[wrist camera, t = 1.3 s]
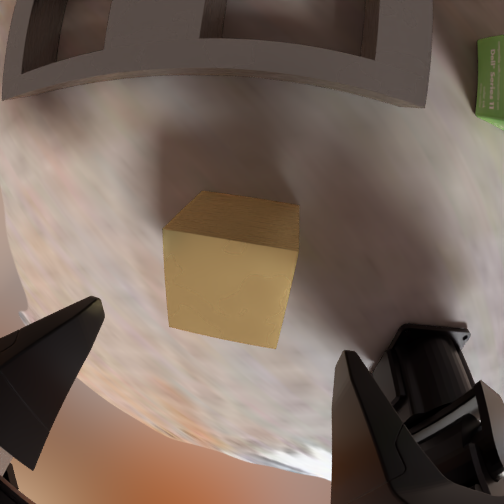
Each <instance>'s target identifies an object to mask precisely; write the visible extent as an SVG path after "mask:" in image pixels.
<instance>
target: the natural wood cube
mask: <svg viewBox="0 0 504 504" xmlns="http://www.w3.org/2000/svg"><path fill="white" fill-rule="evenodd" d="M162 230H163V254H164V272H165V286H166V299H167V310H168V320H169V327H172V328H176V329H180V330H184V331H189V332H193V333H197V334H201V335H206V336H210V337H215V338H220V339H224V340H229V341H234V342H239V343H244V344H250V345H255V346H261V347H267V348H272V349H276V347H277V343H278V339H279V335H280V331H281V327H282V323H283V319H284V314H285V310H286V306H287V302H288V298H289V293H290V289H291V285H292V280H293V276H294V271H295V267H296V262H297V258H298V253H299V205H295V204H289V203H283V202H277V201H271V200H265V199H258V198H252V197H245V196H238V195H231V194H224V193H217V192H210V191H201V192H200V193H199V194H198V195H197V196H196V197H195V198H194V199H193V200H192V201H191V202H190V203H189V204H188V205H187V206H185V207H184V208H183V209H182V210H181V211H180V212H179V213H178V214H177V215H176V216H175V217H174V218H173V219H172V220H171V221H170V222H169V223H168V224H167V225H166V226H165V227H164V228H163V229H162Z"/></svg>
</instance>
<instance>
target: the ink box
mask: <svg viewBox="0 0 504 504" xmlns="http://www.w3.org/2000/svg"><path fill="white" fill-rule="evenodd" d="M477 44H478V88H477V102H476V113H475V115H476V116H477V117H479V118H481V119H483V120H485V121H487V122H489V123H491V124H493V125H495V126H496V127H498V128H500V129H502V130H504V35H498V36H493V37H488V38H484V39H479V40H478V41H477Z"/></svg>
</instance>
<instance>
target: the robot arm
mask: <svg viewBox="0 0 504 504" xmlns="http://www.w3.org/2000/svg"><path fill="white" fill-rule="evenodd" d="M104 318H105V314H104V310H103V306H102V302H101V300H100V299H99V298H97V297H94V296H89V297H87V298H85V299H83V300H81V301H78V302H76V303H74V304H72V305H70V306H68V307H65V308H63V309H61V310H59V311H57V312H55V313H53V314H51V315H48V316H46V317H44V318H42V319H40V320H38V321H36V322H34V323H32V324H29V325H27V326H25V327H23V328H21V329H20V330H17V331H15V332H13V333H11V334H9V335H6V336H4V337H2V338H0V504H35V503H34V502H33V501H31V500H30V499H29V498H28V497H26V496H25V495H24V494H22V493H21V492H20V491H19V490H18V489H19V488H18V485H17V481H16V478H15V474H14V470H13V466H12V464H11V463H10V461H11V460H12V458H13V457H14V458H16V459H17V460H18V461H20V462H21V463H22V464H24V465H25V466H27V467H28V468H30V469H31V470H32V471H33V470H34V468H35V466H36V463H37V461H38V458H39V456H40V453H41V451H42V449H43V446H44V444H45V441H46V439H47V437H48V434H49V431H50V430H51V427H52V425H53V423H54V421H55V418H56V416H57V414H58V412H59V410H60V408H61V406H62V404H63V402H64V400H65V398H66V396H67V394H68V392H69V390H70V388H71V386H72V384H73V382H74V380H75V378H76V376H77V375H78V373H79V371H80V369H81V367H82V365H83V363H84V361H85V360H86V358H87V356H88V354H89V352H90V350H91V348H92V346H93V344H94V341H95V339H96V337H97V334H98V332H99V330H100V328H101V325H102V323H103V321H104ZM405 331H407V332H405ZM470 335H471V334H470V332H469V330H468V329H460V328H447V327H436V326H426V325H416V324H405V325H403V326H401V327H400V329H399V331H398V332H397V334H396V336H395V338H394V340H393V341H392V343H391V345H390V346H389V348H388V350H387V351H386V352H385V353H384V355H383V357H382V358H381V360H380V362H379V363H378V365H377V367H376V368H375V370H374V371H373V374H372V375H371V373H370V372H369V370H368V369H367V368H366V366H365V365H364V363H363V362H362V360H361V359H360V357H359V356H358V354H357V353H356V352H355V351H350V350H344V351H343V352H342V354H341V356H340V358H339V360H338V362H337V364H336V367H335V376H334V388H333V399H332V482H331V485H332V486H331V504H504V403H503V401H502V399H501V397H500V395H499V394H497V393H496V392H495V391H494V390H492V389H491V388H490V387H489V386H488V385H486V384H485V383H484V382H483V381H482V380H480V381H479V382H477V383H476V384H475V383H474V380H473V378H472V375H471V373H470V370H469V368H468V365H467V363H466V361H465V358H464V356H463V354H462V351H461V350H462V348H463V347H464V345H465V344H466V342H467V341H468V339H469V338H470ZM479 420H481V423H480V421H479Z"/></svg>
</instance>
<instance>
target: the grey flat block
mask: <svg viewBox="0 0 504 504" xmlns="http://www.w3.org/2000/svg"><path fill="white" fill-rule="evenodd" d="M66 1H67V0H17V1H16V5H15V9H14V13H13V17H12V21H11V26H10V31H9V36H8V42H7V48H6V55H5V63H4V73H3V85H2V101H4V100H10V99H15V98H21V97H27V96H34V95H37V94H41V93H45V92H49V91H53V90H58V89H62V88H67V87H72V86H77V85H82V84H88V83H94V82H101V81H108V80H116V79H124V78H134V77H146V76H163V75H224V76H241V77H254V78H264V79H273V80H281V81H288V82H295V83H302V84H308V85H314V86H319V87H324V88H329V89H334V90H339V91H343V92H348V93H352V94H356V95H360V96H364V97H368V98H371V99H375V100H379V101H382V102H385V103H389V104H392V105H395V106H398V107H413V108H425V104H426V97H427V90H428V81H429V72H430V62H431V49H432V27H433V0H365V15H364V27H363V38H362V48H361V57H360V56H356V55H352V54H348V53H343V52H339V51H334V50H329V49H324V48H318V47H313V46H307V45H300V44H293V43H285V42H276V41H265V40H252V39H227V38H221V37H222V29H223V22H224V16H225V9H226V3H227V0H112V4H111V9H110V14H109V19H108V25H107V31H106V37H105V44H104V50H100V51H96V52H91V53H87V54H83V55H79V56H75V57H72V58H68V59H65V60H61V61H58V62H56V58H57V50H58V43H59V36H60V30H61V25H62V20H63V15H64V10H65V6H66Z"/></svg>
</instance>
